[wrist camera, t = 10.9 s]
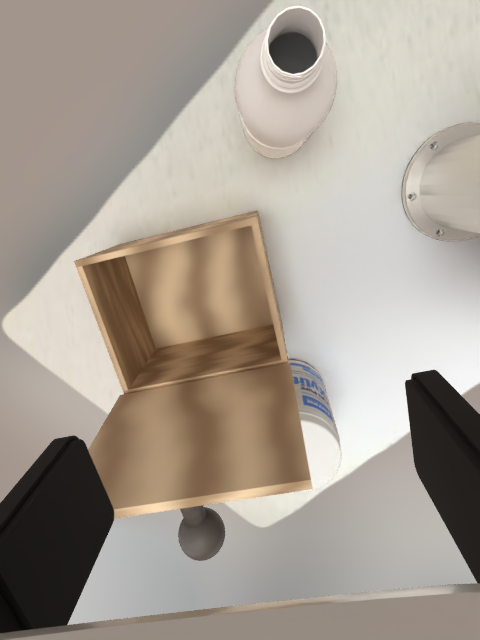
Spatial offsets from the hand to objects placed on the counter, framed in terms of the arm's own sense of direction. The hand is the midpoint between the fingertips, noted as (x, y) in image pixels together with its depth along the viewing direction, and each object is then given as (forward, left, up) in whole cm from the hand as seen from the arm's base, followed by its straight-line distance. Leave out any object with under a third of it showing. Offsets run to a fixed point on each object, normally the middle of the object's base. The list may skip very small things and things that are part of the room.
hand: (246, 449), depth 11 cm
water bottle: (-5, -13, -38) cm, 41 cm away
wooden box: (+8, +3, -38) cm, 39 cm away
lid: (+8, +10, -18) cm, 22 cm away
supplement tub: (0, +20, -38) cm, 43 cm away
